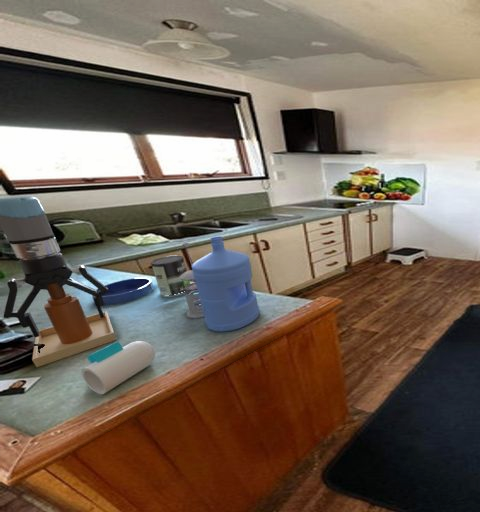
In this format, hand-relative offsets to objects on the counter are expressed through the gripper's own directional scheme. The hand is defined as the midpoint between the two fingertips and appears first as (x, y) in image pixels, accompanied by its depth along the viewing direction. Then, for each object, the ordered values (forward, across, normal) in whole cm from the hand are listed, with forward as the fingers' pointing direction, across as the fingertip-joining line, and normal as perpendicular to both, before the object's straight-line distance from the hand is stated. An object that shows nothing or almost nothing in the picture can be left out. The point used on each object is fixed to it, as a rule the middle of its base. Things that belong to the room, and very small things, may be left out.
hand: (71, 325), depth 79 cm
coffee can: (+5, +28, +15) cm, 32 cm away
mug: (+5, +7, -30) cm, 31 cm away
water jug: (+5, +35, -25) cm, 43 cm away
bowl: (+5, +14, +27) cm, 31 cm away
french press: (+5, +31, -10) cm, 33 cm away
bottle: (+4, 0, 0) cm, 4 cm away
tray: (+5, 0, 0) cm, 5 cm away
